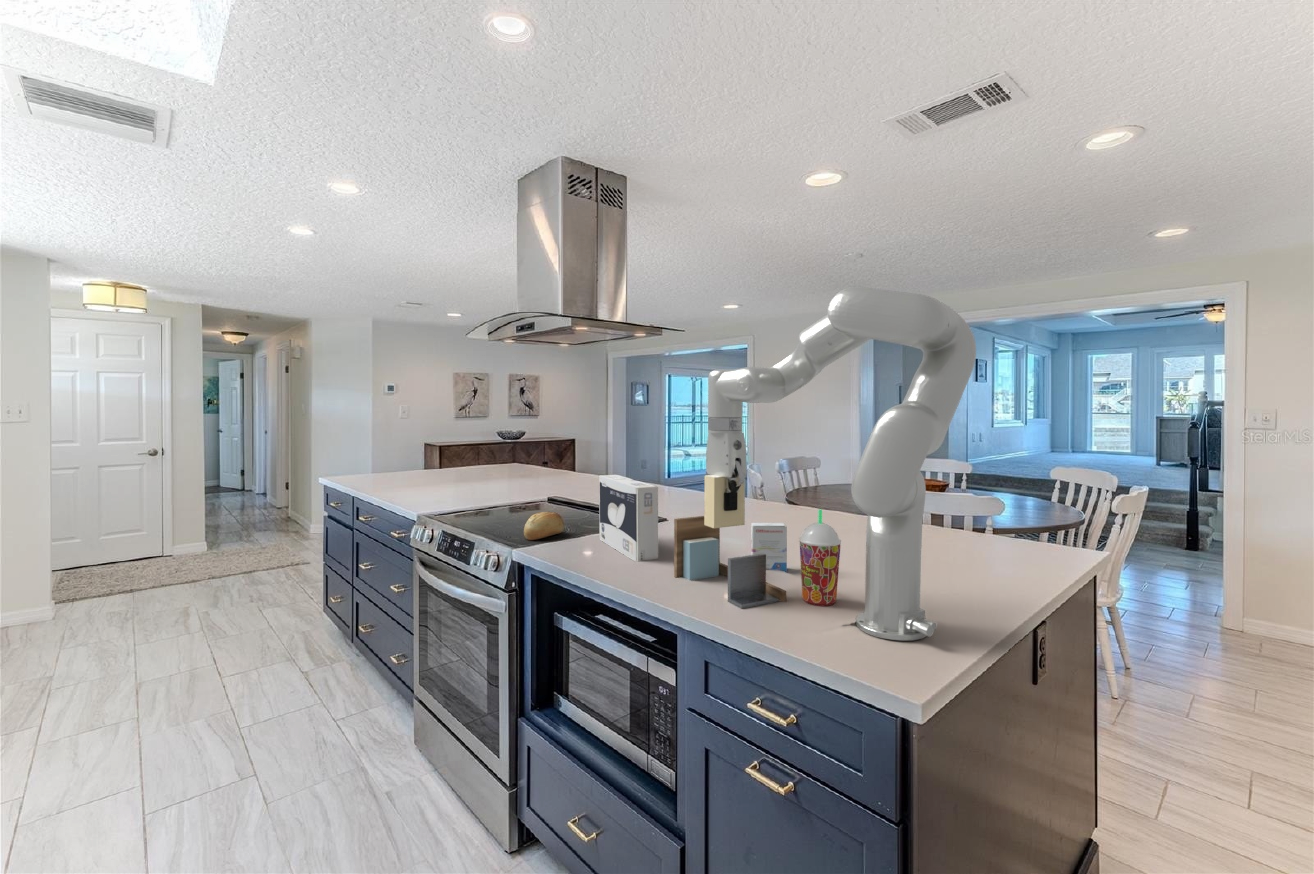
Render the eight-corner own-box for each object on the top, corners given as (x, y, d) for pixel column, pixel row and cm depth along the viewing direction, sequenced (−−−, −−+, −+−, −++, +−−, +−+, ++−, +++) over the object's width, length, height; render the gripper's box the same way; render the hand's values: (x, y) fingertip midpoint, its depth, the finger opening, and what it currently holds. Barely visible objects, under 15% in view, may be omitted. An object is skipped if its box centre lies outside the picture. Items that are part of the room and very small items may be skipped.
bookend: (777, 601, 123) (778, 558, 122) (741, 608, 118) (742, 564, 118) (762, 594, 127) (763, 553, 126) (727, 601, 123) (727, 558, 122)
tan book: (744, 524, 131) (745, 475, 131) (714, 528, 128) (714, 477, 127) (734, 521, 135) (734, 473, 134) (704, 524, 131) (704, 475, 131)
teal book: (718, 576, 141) (718, 539, 141) (689, 581, 138) (689, 542, 137) (711, 573, 144) (712, 536, 144) (683, 577, 140) (683, 540, 140)
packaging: (599, 539, 183) (598, 475, 182) (617, 537, 186) (617, 474, 185) (637, 563, 156) (637, 487, 155) (658, 560, 159) (658, 486, 157)
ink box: (784, 567, 151) (784, 521, 151) (786, 573, 146) (787, 525, 146) (750, 566, 152) (751, 521, 152) (751, 572, 147) (752, 525, 147)
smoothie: (790, 601, 126) (791, 507, 124) (823, 596, 128) (824, 505, 127) (814, 614, 118) (815, 514, 117) (848, 609, 121) (850, 511, 120)
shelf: (786, 604, 123) (786, 535, 122) (738, 614, 118) (738, 541, 117) (716, 572, 147) (716, 514, 146) (674, 579, 141) (674, 518, 141)
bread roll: (572, 534, 191) (572, 509, 191) (538, 543, 179) (538, 517, 179) (551, 531, 197) (550, 507, 196) (516, 539, 184) (516, 514, 184)
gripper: (762, 427, 124) (761, 513, 125) (718, 424, 139) (718, 501, 140) (732, 427, 121) (731, 516, 122) (691, 425, 136) (690, 504, 137)
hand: (724, 507), depth 131 cm, fingers closed on tan book, 4 cm apart
